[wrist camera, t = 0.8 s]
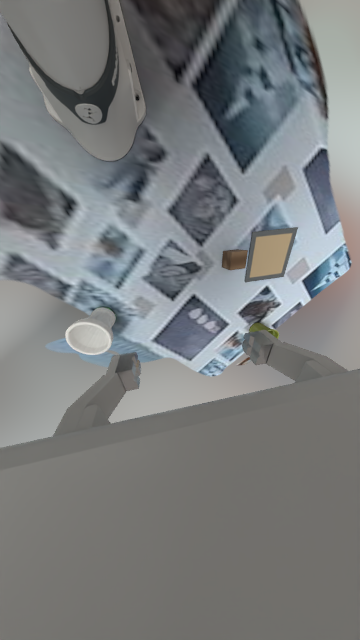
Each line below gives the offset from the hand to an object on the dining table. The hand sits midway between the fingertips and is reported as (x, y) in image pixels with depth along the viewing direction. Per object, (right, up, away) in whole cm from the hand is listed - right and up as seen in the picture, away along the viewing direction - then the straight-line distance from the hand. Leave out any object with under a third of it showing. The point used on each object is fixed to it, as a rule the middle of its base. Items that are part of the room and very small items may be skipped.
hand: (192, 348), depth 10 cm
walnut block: (+16, +23, +36) cm, 46 cm away
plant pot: (+35, -2, +54) cm, 64 cm away
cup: (-28, +4, +39) cm, 48 cm away
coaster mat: (+31, +25, +38) cm, 55 cm away
